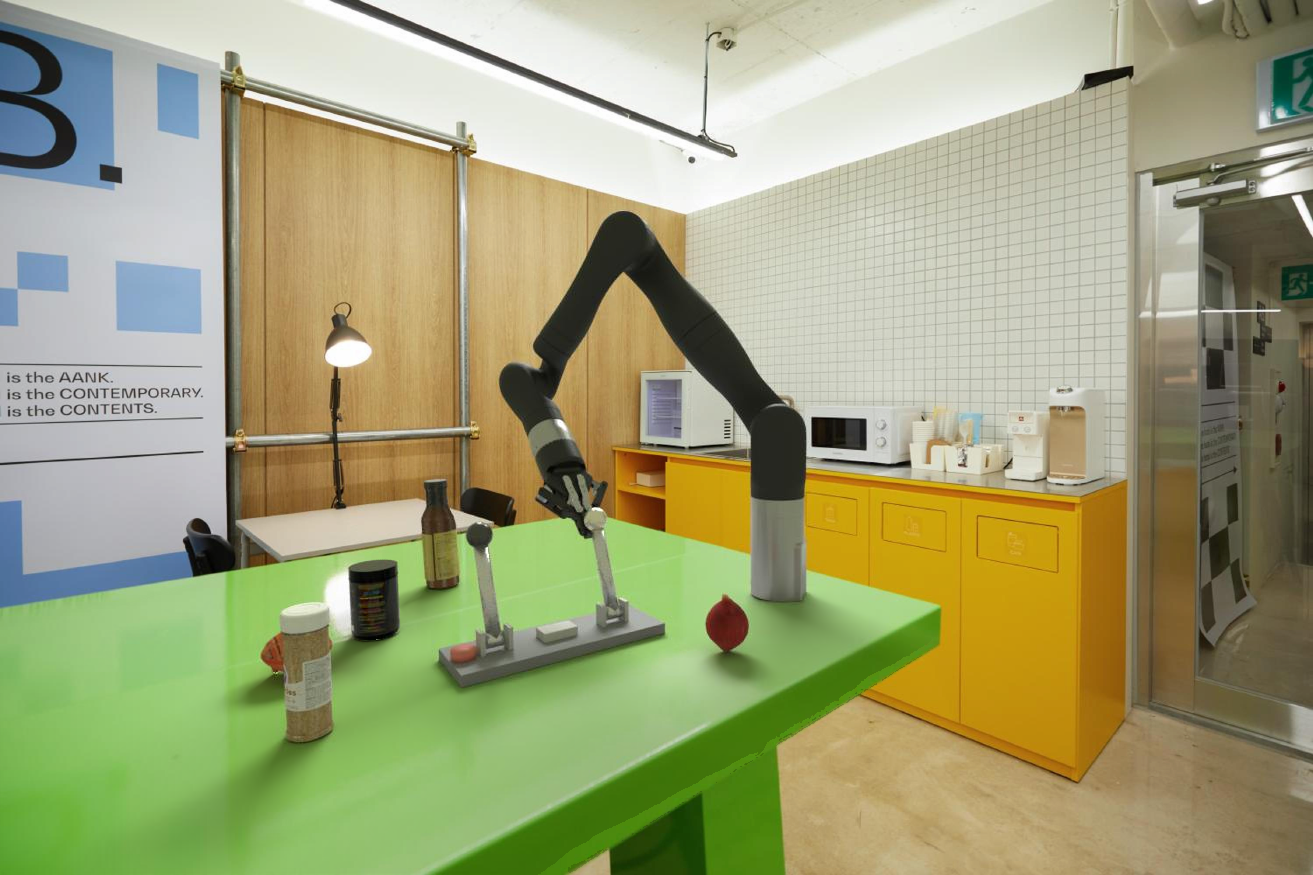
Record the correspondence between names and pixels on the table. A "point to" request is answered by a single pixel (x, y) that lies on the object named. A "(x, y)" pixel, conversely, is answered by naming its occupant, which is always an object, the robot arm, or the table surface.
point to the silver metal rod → (486, 582)
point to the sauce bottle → (439, 538)
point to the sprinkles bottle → (307, 671)
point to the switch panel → (546, 644)
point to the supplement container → (374, 599)
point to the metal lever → (603, 561)
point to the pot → (276, 653)
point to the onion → (727, 624)
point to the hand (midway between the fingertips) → (591, 535)
